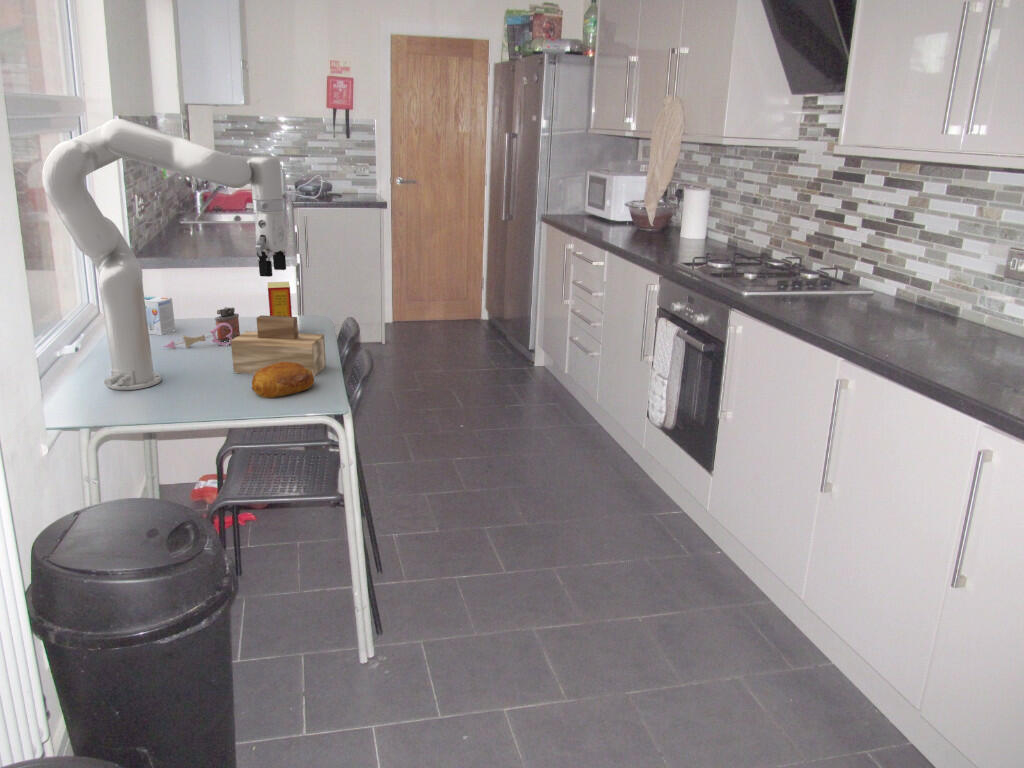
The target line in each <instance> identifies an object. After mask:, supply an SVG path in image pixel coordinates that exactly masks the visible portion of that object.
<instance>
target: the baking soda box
mask: <svg viewBox="0 0 1024 768" xmlns="http://www.w3.org/2000/svg"><path fill="white" fill-rule="evenodd" d="M267 293H268V294H267V295H268V309H269V316H288V317H293V313H292V297H291V285H290V281H278V282H277V281H275V282H274V281H273V282H272V281H270V282H267Z"/></svg>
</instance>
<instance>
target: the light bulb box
mask: <svg viewBox="0 0 1024 768" xmlns="http://www.w3.org/2000/svg"><path fill="white" fill-rule="evenodd" d="M144 300H145V307H146V315H147V322H148V330H149V335H153V334H154V336H164V335H166V334H165V333H167V334H169V333H168V332H170V333H172V332H171V331H173V330H175V331H176V325H175V324H176V323H175V317H174V316H175V315H174V307H173V298H172V297H163V296H153V295H152V296H151V295H144ZM173 332H174V331H173ZM155 334H156V335H155ZM163 334H164V335H163Z"/></svg>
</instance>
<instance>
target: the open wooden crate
mask: <svg viewBox="0 0 1024 768" xmlns="http://www.w3.org/2000/svg"><path fill="white" fill-rule="evenodd" d="M230 347H231V358H232V367H233V373H234V372H237V373H236V374H242V373H249V374H248V375H255V373H256V372H258V371H259V370H260V369H261V368H264V367H266V366H269V365H272V364H275V363H280V362H292V363H298V364H301V365H302V366H303V367H304V368H306V369H309V370H310V371H311V372H312V374H313V377H316V376H317V375H318V374H319V373H320V372H321V371H322V370H324V369H325V368H326V367H327V363H326V362H327V359H326V342H325V338H324V339H323V340H321V341H320V342H319V343H317V344H316V345H315V346H314V347H312V348H311V347H287V346H263V345H239V344H230Z"/></svg>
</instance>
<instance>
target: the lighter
mask: <svg viewBox="0 0 1024 768" xmlns="http://www.w3.org/2000/svg"><path fill="white" fill-rule="evenodd" d="M235 310H236V309H235V307H224V308H220V309H217V310H216V314H217V315H219V316H217V317H216V316H215V317H214V321H215V324H216V325H215V326H216V327H217V326H218V325H219V324H221V323H227V324H229V325H230V326H231V327H232V335H231V337H232V339H234V338H236V337H238V336H239V335H241V333H240V322H239V317H240V316H239V313H237V312H236V313H235ZM216 327H215V328H216ZM230 333H231V329H230V328H229V327H228V326H221V327H219V328H218V329H217V331H216V334H217V336H216V338H217V339H218V340H219V341H220V342H224V341H229V340H230V338H228V337H226V336H227V335H229V334H230ZM229 342H230V341H229ZM224 343H225V342H224Z"/></svg>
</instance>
